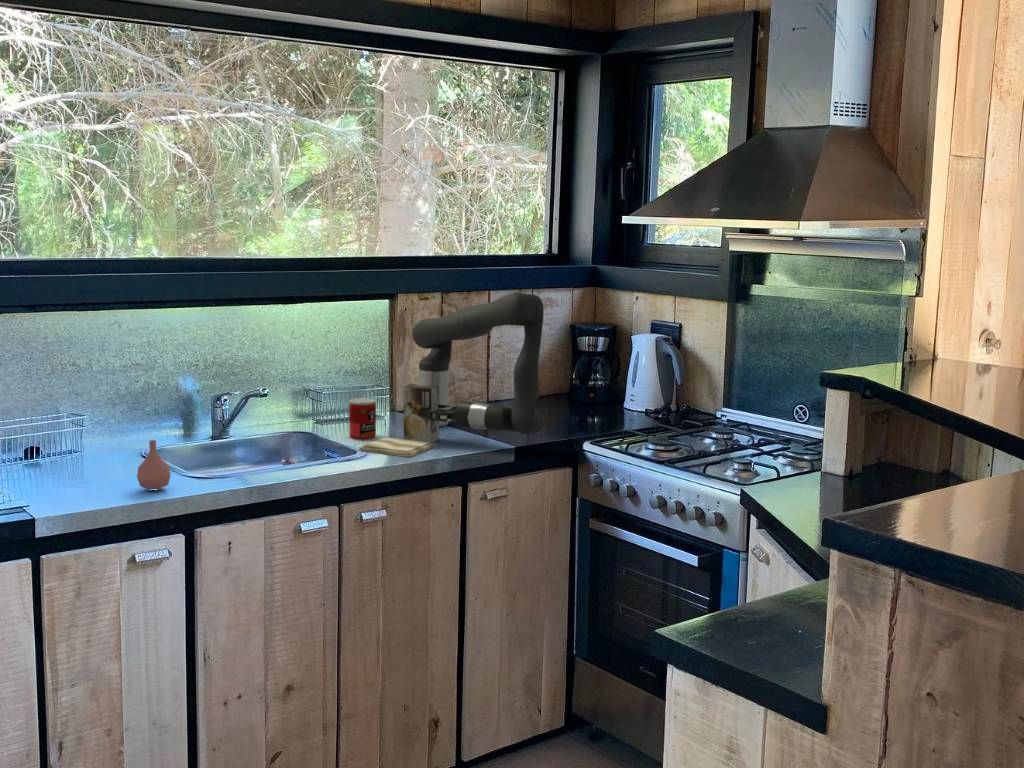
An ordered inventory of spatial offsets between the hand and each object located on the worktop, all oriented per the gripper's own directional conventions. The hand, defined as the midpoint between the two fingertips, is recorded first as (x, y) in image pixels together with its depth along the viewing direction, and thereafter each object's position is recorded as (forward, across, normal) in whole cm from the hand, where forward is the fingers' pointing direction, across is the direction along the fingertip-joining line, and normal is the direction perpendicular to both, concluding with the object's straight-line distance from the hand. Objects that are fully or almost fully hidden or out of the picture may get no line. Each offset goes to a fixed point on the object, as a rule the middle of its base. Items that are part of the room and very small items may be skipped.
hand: (425, 410), depth 326 cm
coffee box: (+1, 0, +9) cm, 9 cm away
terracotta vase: (+30, +80, +9) cm, 86 cm away
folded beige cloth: (+1, +14, +9) cm, 17 cm away
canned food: (+18, +5, +9) cm, 21 cm away
